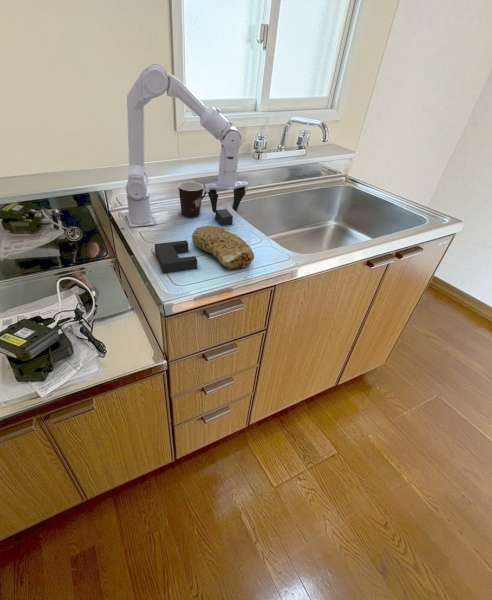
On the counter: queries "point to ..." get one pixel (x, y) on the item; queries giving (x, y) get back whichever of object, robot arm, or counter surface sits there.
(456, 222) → the counter surface
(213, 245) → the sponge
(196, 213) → the coffee mug
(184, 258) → the base pad
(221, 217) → the pad piece
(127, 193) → the robot arm
